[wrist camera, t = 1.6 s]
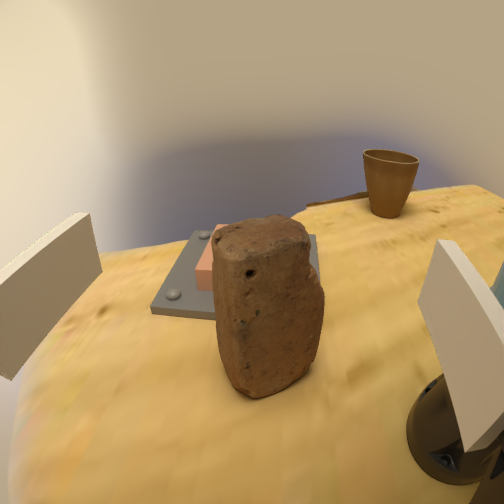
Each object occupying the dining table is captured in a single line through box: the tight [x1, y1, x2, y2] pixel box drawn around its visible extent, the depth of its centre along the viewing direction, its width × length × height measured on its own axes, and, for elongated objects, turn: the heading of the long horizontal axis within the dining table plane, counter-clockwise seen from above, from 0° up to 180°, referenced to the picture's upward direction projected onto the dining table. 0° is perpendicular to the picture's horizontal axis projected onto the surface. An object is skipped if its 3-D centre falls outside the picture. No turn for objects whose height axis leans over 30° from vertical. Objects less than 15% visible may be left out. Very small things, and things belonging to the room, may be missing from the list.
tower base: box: [150, 224, 320, 320], centre depth 56 cm, size 26×26×6 cm
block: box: [211, 215, 324, 398], centre depth 33 cm, size 11×8×20 cm
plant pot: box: [363, 149, 419, 218], centre depth 76 cm, size 15×15×16 cm
